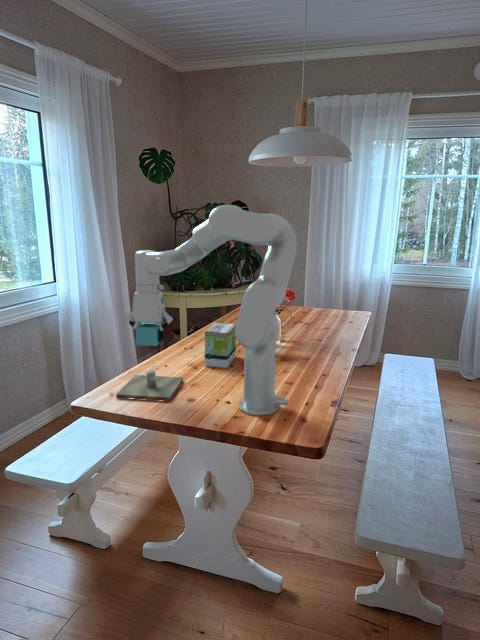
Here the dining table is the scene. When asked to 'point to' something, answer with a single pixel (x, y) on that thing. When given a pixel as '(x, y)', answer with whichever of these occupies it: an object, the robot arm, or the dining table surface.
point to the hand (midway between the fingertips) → (149, 340)
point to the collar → (147, 334)
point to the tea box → (220, 345)
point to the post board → (150, 387)
